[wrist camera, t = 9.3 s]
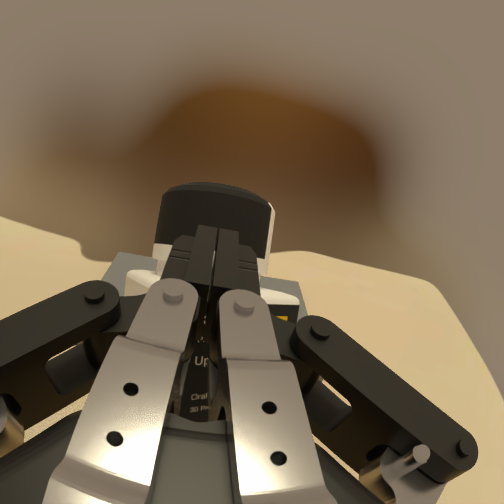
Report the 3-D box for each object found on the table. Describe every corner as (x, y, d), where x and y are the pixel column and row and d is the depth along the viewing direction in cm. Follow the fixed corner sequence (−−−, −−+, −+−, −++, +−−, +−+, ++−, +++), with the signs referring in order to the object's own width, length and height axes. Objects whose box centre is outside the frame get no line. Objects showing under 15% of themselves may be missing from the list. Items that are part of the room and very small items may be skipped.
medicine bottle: (159, 448, 10) (190, 157, 10) (118, 380, 15) (139, 186, 16) (281, 420, 14) (315, 203, 15) (214, 375, 20) (236, 211, 20)
